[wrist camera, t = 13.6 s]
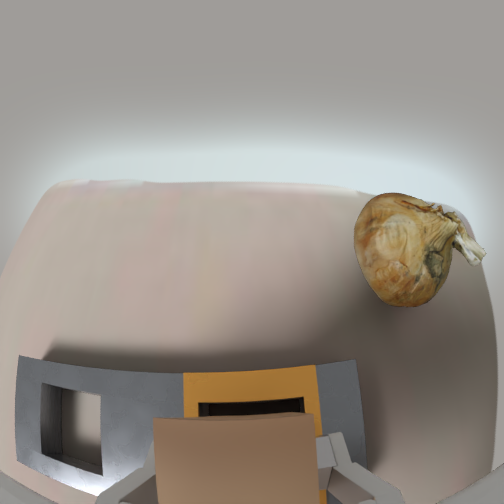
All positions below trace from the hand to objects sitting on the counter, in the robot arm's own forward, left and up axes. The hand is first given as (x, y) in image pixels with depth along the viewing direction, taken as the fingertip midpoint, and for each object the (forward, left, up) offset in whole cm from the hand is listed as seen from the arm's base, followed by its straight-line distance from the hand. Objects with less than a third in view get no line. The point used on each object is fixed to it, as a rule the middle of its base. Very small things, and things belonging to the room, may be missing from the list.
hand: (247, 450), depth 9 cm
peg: (-1, 0, -6) cm, 6 cm away
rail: (-1, +6, -7) cm, 9 cm away
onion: (+10, -11, -7) cm, 17 cm away
